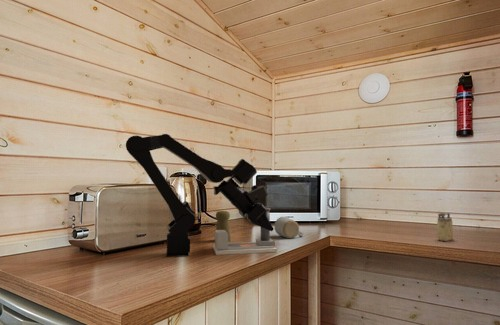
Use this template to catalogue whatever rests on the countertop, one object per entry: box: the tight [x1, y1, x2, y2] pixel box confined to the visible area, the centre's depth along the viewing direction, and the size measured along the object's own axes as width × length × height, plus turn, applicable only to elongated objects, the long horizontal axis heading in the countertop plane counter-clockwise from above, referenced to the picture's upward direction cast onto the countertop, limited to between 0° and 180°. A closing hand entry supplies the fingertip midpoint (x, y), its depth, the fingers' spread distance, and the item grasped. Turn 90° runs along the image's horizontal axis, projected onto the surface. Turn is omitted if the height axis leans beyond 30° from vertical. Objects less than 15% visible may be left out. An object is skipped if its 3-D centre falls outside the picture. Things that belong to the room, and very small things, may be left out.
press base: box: [212, 229, 278, 256], centre depth 107 cm, size 19×10×6 cm, turn 101°
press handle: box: [255, 207, 276, 247], centre depth 109 cm, size 5×6×12 cm
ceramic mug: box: [273, 216, 304, 239], centre depth 131 cm, size 11×8×8 cm
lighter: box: [436, 212, 454, 242], centre depth 124 cm, size 7×4×10 cm, turn 124°
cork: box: [215, 210, 232, 243], centre depth 123 cm, size 6×6×11 cm
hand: (269, 228), depth 109 cm, fingers open, 9 cm apart
